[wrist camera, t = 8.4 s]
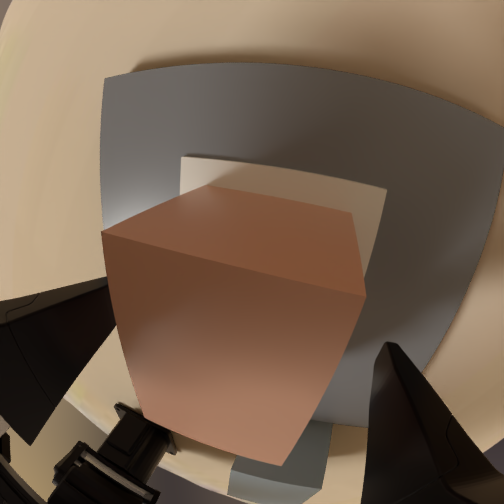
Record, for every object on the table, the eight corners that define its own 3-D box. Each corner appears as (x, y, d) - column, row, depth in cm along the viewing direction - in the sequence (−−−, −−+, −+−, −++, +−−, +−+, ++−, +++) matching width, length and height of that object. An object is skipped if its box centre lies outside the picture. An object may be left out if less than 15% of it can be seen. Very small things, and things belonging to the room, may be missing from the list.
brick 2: (305, 459, 17) (292, 510, 13) (247, 446, 18) (227, 494, 14) (333, 420, 14) (321, 489, 10) (256, 404, 15) (230, 469, 11)
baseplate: (378, 415, 13) (378, 431, 12) (136, 349, 17) (126, 360, 15) (495, 129, 6) (511, 130, 5) (119, 80, 10) (101, 78, 9)
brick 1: (305, 367, 11) (281, 466, 7) (200, 337, 12) (144, 417, 8) (351, 213, 8) (366, 296, 4) (204, 185, 9) (101, 231, 5)
